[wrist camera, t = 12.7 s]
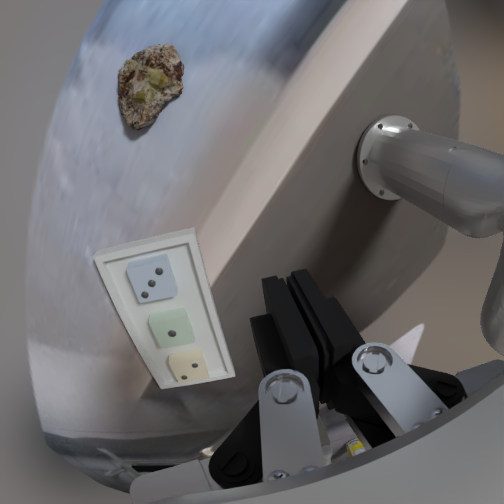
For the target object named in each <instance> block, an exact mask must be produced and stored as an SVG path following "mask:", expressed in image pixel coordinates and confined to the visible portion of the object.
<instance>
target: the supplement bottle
mask: <svg viewBox="0 0 504 504" xmlns="http://www.w3.org/2000/svg"><path fill="white" fill-rule="evenodd" d="M345 446H346V449H347V451H348V453H349V456H350V457H352V456H355V455H358V454H360V453H363V452H365V449H364V447H363V445H362V443H361V442H360V440H359V439H358V438H356V439H353V440H351V441H349V442H348V443H346V445H345Z"/></svg>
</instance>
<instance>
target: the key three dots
mask: <svg viewBox="0 0 504 504" xmlns="http://www.w3.org/2000/svg"><path fill="white" fill-rule="evenodd" d="M126 271H127V273H128V276H129V278H130V281H131V283H132V286H133V288H134V290H135V293H136V295H137V298H138V300H139V302H140V303H144V302H149V301H154V300H159V299H164V298H169V297H174V296H177V292H178V287H177V284H176V281H175V278H174V275H173V272H172V268H171V265H170V262H169V259H168V256H167V254H162V255H158V256H153V257H149V258H145V259H140V260H136V261H131V262H129V263H128V266H127V269H126Z"/></svg>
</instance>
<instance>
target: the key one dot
mask: <svg viewBox="0 0 504 504" xmlns="http://www.w3.org/2000/svg"><path fill="white" fill-rule="evenodd" d="M149 324H150V327H151V329H152V331H153V333H154V335H155V337H156V339H157V341H158V343H159V345H160V347H161V349H162V348H168V347H174V346H180V345H185V344H191V343H195V336H194V332H193V329H192V326H191V323H190V321H189V318H188V315H187V312H186V310H185V307H184V308H179V309H174V310H169V311H164V312H159V313H154V314H150V318H149Z"/></svg>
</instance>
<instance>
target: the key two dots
mask: <svg viewBox="0 0 504 504" xmlns="http://www.w3.org/2000/svg"><path fill="white" fill-rule="evenodd" d="M169 365H170V367H171V369H172V371H173V373H174V375H175V376H176V378H177V380H178V382H179V383H183V382H190V381H196V380H201V379H207V378H209V371H208V367H207V365H206V362H205V360H204V357H203V355H202V352H201V350H200V349H199V350H194V351H189V352H183V353H177V354H171V355H169Z"/></svg>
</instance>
